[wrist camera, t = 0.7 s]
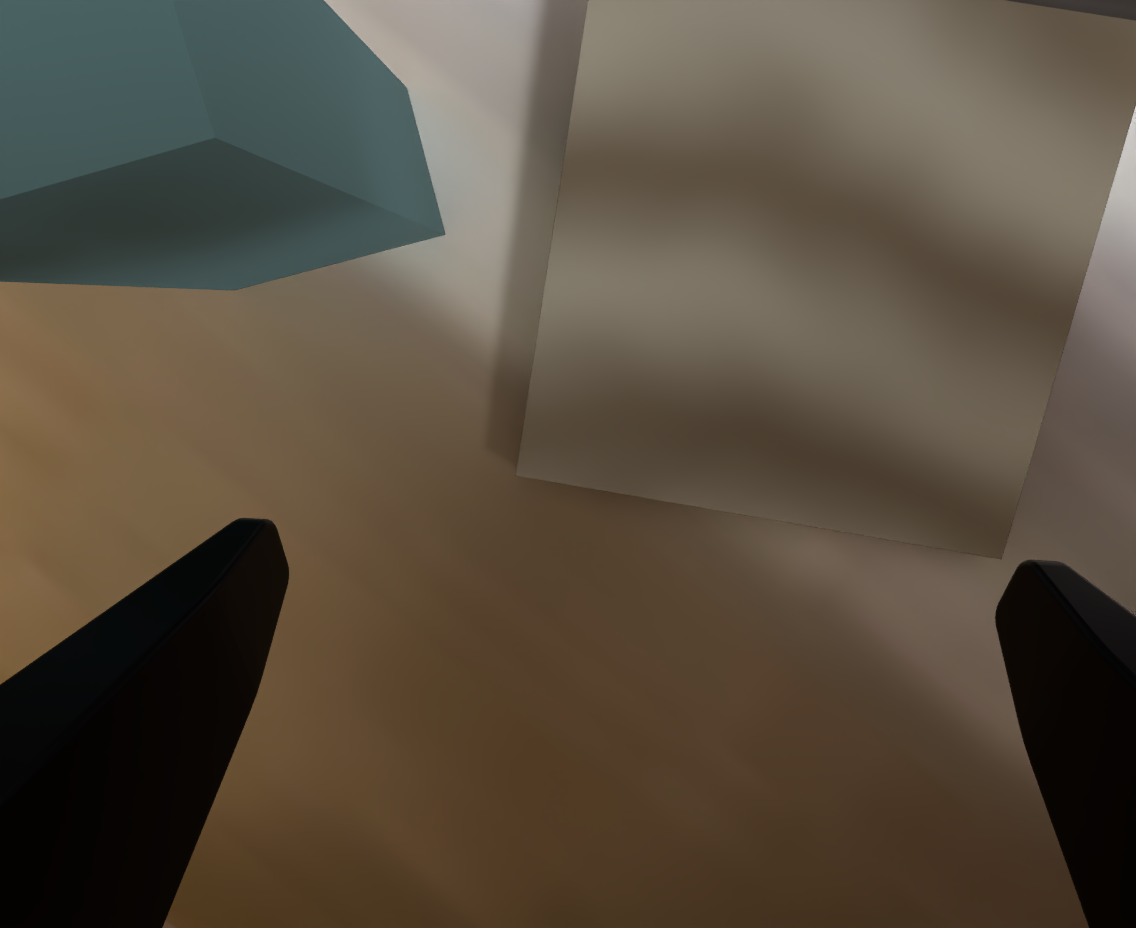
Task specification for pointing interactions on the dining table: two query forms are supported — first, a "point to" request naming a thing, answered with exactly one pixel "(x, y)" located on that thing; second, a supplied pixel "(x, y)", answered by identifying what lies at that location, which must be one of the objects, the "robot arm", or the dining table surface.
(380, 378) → the dining table surface
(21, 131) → the tall teal pillar
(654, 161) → the grey l-shaped bracket
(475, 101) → the dining table surface
